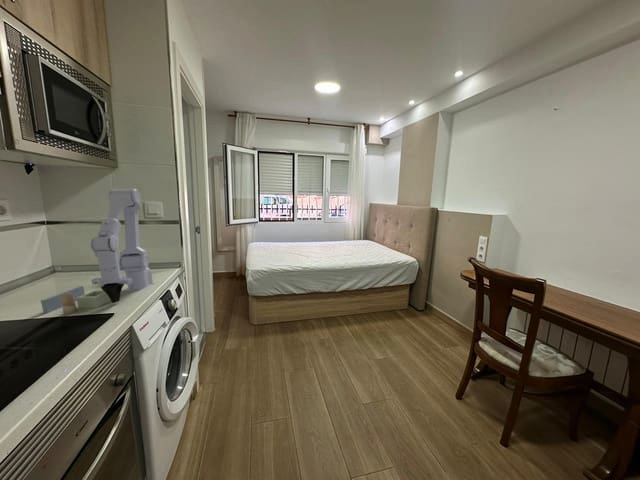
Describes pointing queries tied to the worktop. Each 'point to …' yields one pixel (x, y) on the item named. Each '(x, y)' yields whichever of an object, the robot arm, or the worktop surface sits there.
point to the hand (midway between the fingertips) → (115, 301)
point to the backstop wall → (59, 299)
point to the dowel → (68, 303)
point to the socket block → (93, 299)
